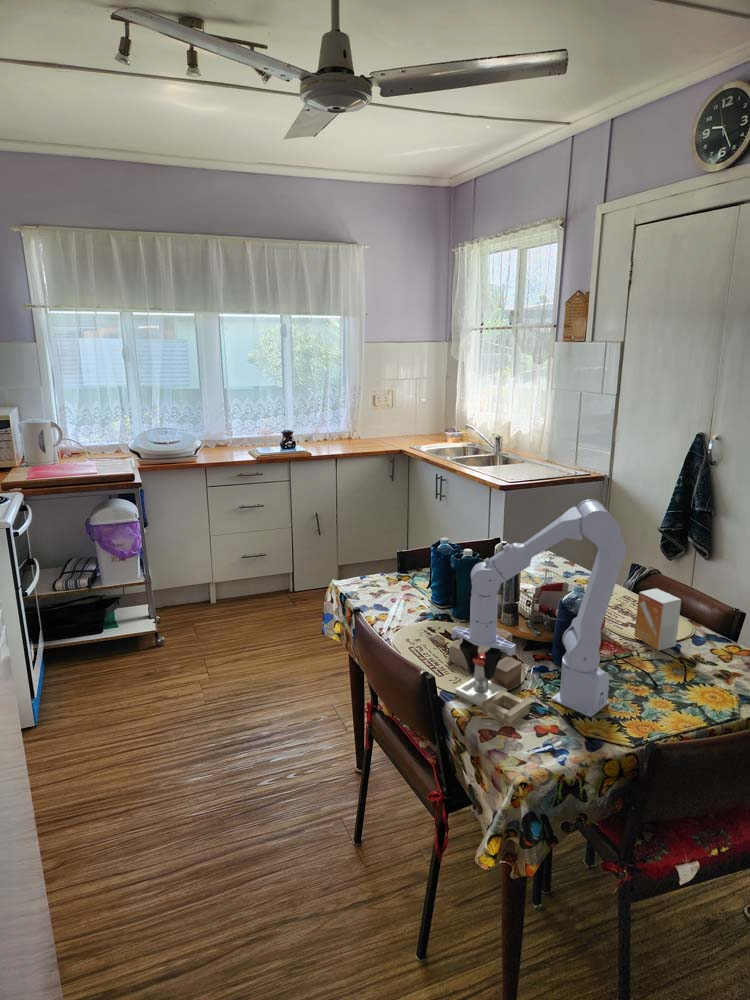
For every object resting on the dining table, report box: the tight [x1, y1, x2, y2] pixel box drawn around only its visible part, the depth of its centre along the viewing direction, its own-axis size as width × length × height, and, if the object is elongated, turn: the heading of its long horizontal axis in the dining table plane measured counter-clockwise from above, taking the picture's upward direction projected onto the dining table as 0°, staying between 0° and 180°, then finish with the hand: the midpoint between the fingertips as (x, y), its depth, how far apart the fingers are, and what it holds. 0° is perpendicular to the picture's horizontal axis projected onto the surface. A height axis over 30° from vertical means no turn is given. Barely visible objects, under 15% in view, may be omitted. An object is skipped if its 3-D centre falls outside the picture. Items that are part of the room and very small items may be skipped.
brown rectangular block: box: [490, 655, 523, 691], centre depth 146 cm, size 4×6×5 cm, turn 133°
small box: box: [634, 588, 682, 652], centre depth 164 cm, size 8×6×13 cm
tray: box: [454, 677, 508, 709], centre depth 142 cm, size 8×8×2 cm
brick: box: [448, 627, 513, 671], centre depth 160 cm, size 17×8×5 cm, turn 136°
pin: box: [472, 653, 488, 694], centre depth 141 cm, size 4×4×8 cm
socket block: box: [481, 690, 531, 728], centre depth 135 cm, size 7×7×2 cm
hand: (481, 674), depth 141 cm, fingers closed on pin, 4 cm apart
